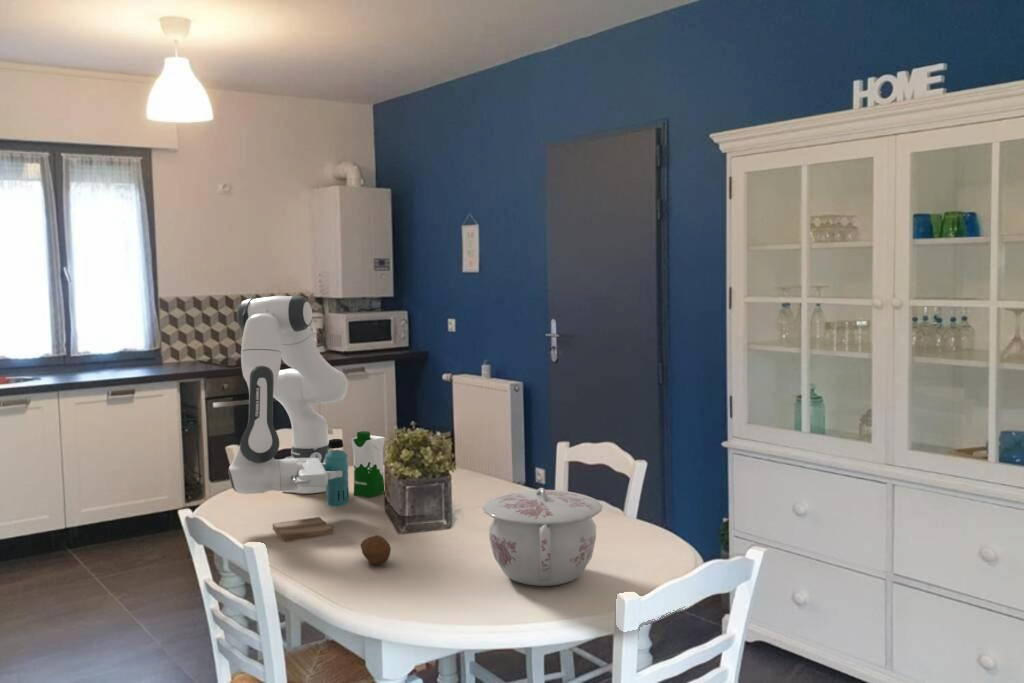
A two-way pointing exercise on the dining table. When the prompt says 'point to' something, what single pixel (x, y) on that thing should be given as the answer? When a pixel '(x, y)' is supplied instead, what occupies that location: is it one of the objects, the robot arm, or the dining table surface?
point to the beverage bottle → (338, 485)
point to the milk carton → (368, 464)
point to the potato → (376, 549)
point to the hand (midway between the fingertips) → (339, 469)
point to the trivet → (302, 529)
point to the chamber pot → (542, 534)
